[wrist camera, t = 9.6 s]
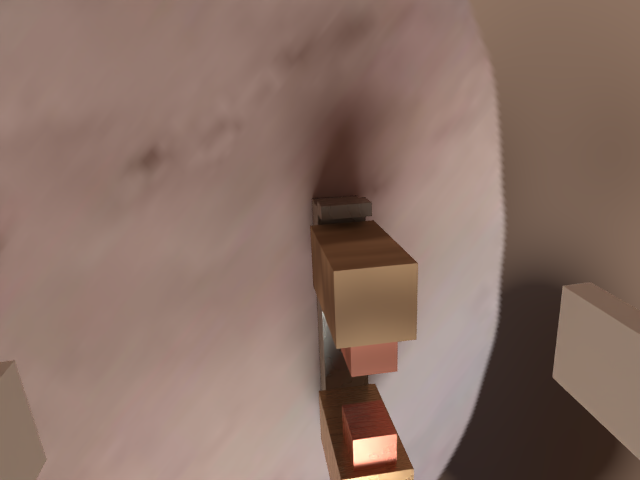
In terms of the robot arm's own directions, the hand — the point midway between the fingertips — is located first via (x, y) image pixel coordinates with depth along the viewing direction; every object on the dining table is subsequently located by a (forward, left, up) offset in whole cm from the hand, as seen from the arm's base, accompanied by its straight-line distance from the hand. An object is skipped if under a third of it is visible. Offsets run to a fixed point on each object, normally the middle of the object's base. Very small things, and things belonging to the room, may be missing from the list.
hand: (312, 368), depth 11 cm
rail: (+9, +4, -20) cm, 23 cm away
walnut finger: (+3, +4, -18) cm, 19 cm away
